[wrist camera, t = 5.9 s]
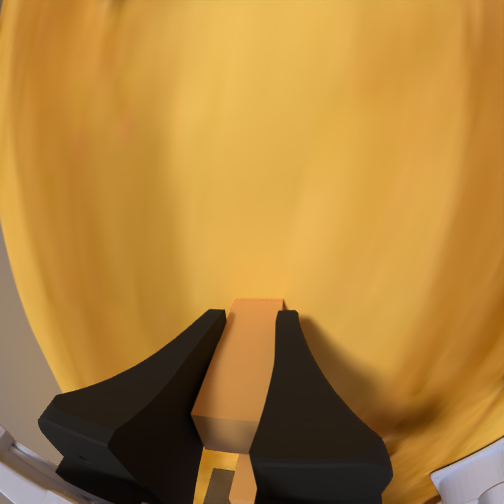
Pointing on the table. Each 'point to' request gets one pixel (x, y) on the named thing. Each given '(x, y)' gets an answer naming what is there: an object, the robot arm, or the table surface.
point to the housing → (219, 487)
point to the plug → (238, 388)
